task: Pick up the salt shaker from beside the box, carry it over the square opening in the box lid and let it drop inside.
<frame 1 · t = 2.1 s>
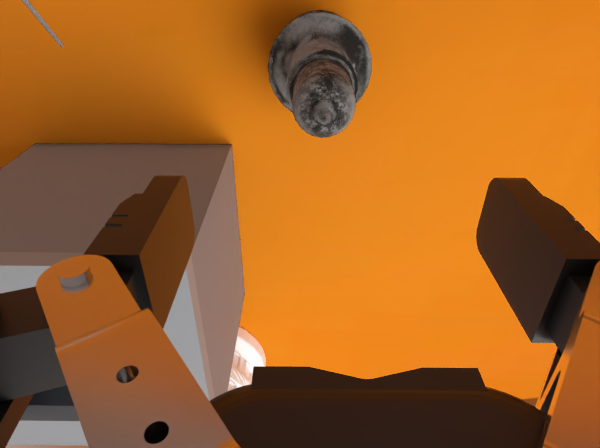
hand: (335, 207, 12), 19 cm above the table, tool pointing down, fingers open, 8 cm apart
decorative container: (208, 357, 43), on the table
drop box: (151, 226, 35), on the table
salt shaker: (318, 55, 28), on the table
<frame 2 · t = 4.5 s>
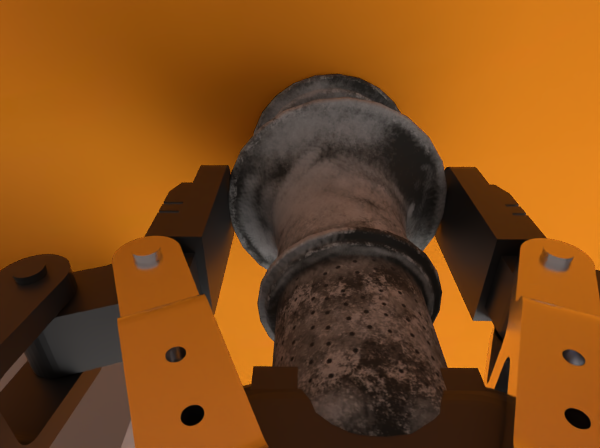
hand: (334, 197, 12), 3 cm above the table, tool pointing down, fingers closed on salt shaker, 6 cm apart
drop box: (60, 394, 22), on the table
salt shaker: (329, 151, 15), on the table, touching gripper
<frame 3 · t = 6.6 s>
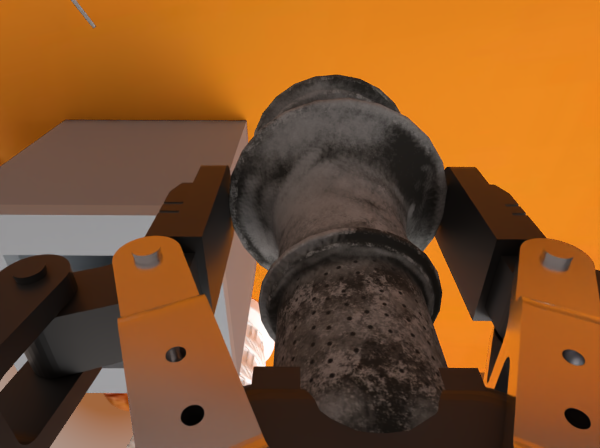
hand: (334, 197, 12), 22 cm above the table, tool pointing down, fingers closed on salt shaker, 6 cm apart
decorative container: (220, 328, 46), on the table
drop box: (170, 199, 37), on the table
salt shaker: (330, 152, 15), point 18 cm above the table, touching gripper
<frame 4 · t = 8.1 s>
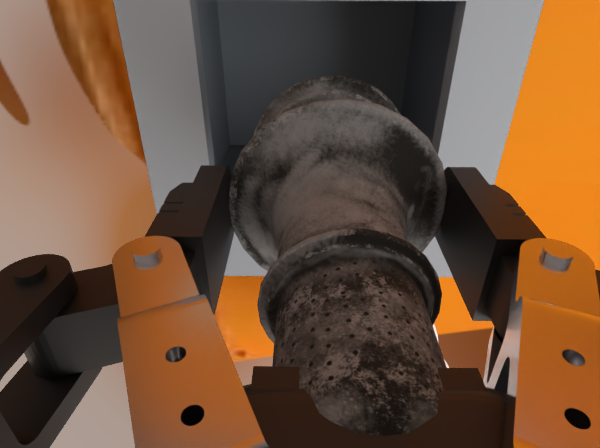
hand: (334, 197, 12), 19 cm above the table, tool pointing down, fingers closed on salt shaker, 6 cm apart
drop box: (315, 55, 28), on the table
salt shaker: (329, 152, 15), point 16 cm above the table, touching gripper
when the fingers open (19 cm above the table, at t = 9.0 s): salt shaker drops 15 cm, resting on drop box.
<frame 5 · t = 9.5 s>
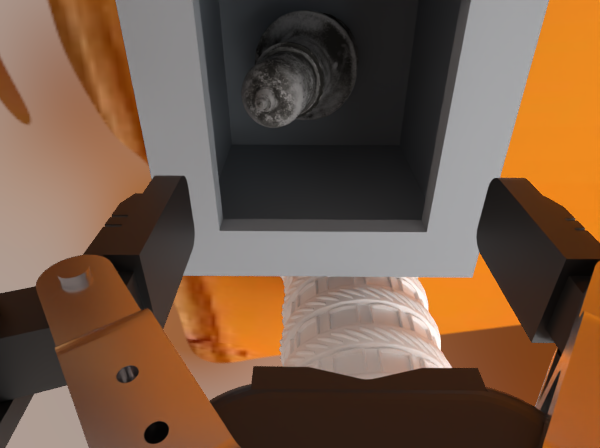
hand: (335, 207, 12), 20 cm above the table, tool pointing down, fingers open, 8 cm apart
decorative container: (345, 249, 37), on the table
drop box: (317, 55, 28), on the table
salt shaker: (317, 58, 27), point 1 cm above the table, touching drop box
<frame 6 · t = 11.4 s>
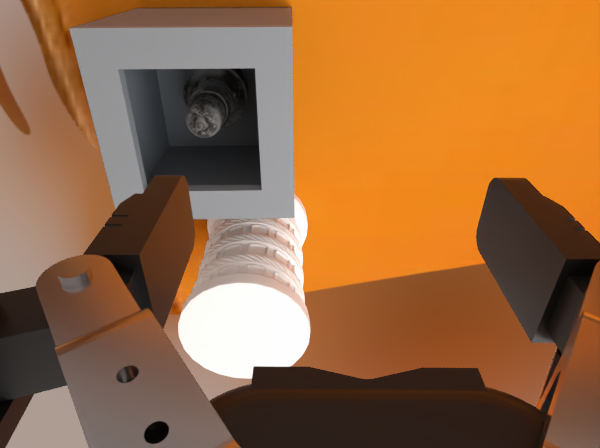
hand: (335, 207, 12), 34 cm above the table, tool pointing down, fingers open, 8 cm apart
decorative container: (258, 221, 51), on the table
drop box: (221, 86, 43), on the table
salt shaker: (221, 86, 43), resting on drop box
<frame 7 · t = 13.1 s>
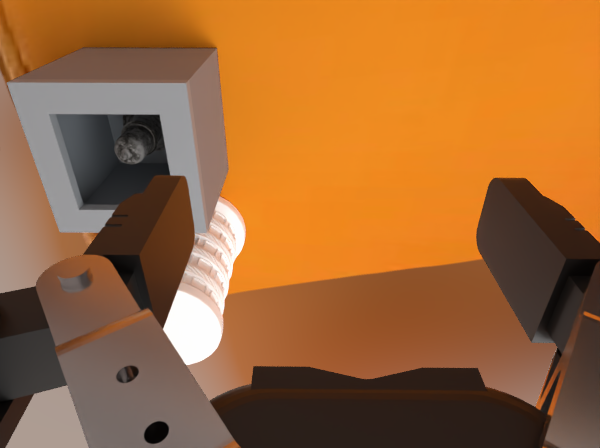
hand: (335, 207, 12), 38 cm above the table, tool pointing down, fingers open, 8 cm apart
decorative container: (202, 228, 58), on the table
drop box: (161, 113, 49), on the table
salt shaker: (160, 113, 49), resting on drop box
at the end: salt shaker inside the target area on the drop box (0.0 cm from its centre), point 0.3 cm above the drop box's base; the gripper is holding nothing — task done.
